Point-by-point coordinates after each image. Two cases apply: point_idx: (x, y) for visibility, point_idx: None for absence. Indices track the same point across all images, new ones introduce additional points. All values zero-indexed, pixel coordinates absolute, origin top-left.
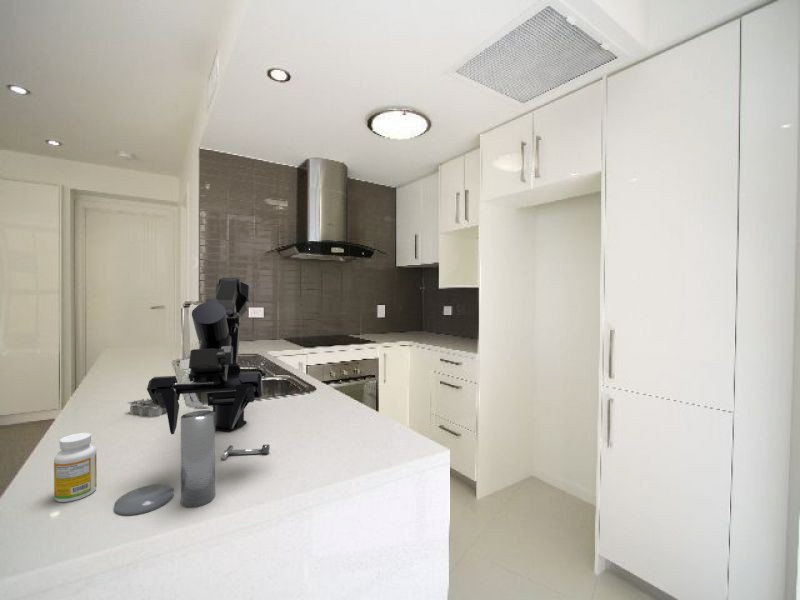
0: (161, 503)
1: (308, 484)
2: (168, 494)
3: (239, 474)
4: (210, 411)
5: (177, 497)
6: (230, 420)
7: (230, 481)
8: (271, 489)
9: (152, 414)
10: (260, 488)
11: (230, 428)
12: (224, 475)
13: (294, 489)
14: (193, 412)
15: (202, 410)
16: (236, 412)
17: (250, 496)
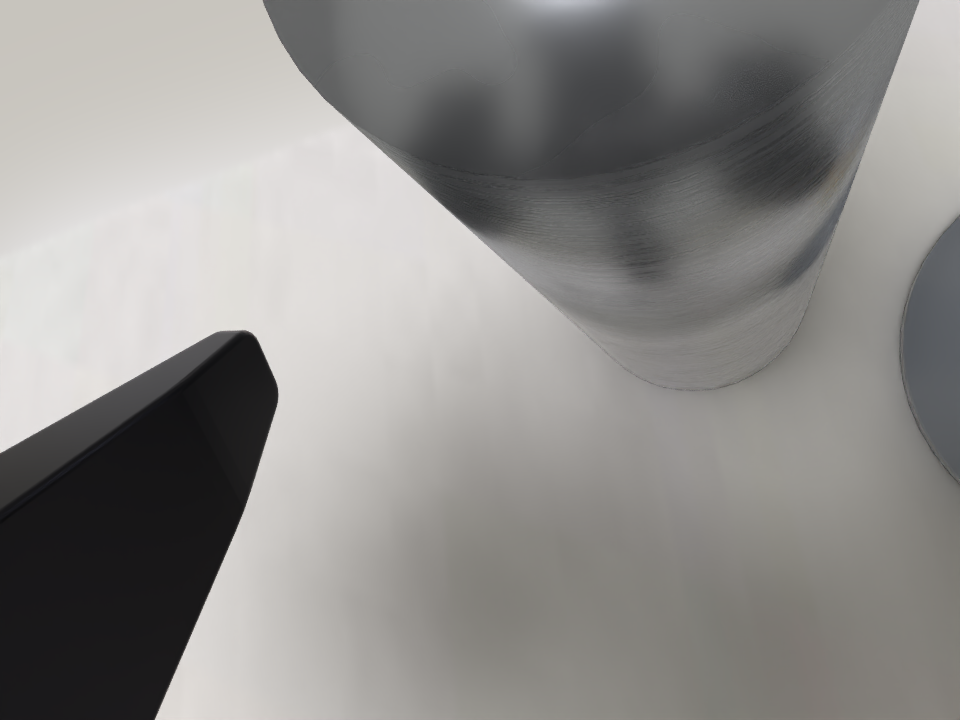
0: (949, 230)
1: (63, 299)
2: (936, 340)
3: (453, 582)
4: (354, 67)
5: (859, 343)
6: (199, 365)
7: (506, 484)
8: (251, 293)
9: None
10: (311, 323)
11: (268, 368)
12: (562, 605)
13: (136, 260)
14: (743, 44)
15: (547, 182)
16: (42, 434)
17: (366, 237)
